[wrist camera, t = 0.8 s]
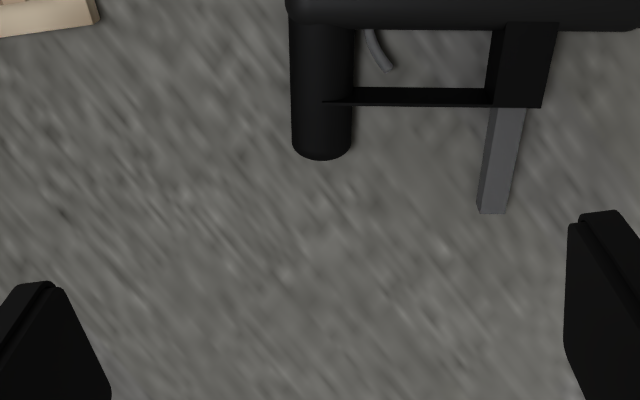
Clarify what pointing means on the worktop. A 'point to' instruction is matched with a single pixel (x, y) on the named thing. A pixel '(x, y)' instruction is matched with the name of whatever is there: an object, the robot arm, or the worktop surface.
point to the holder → (45, 15)
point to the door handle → (498, 93)
